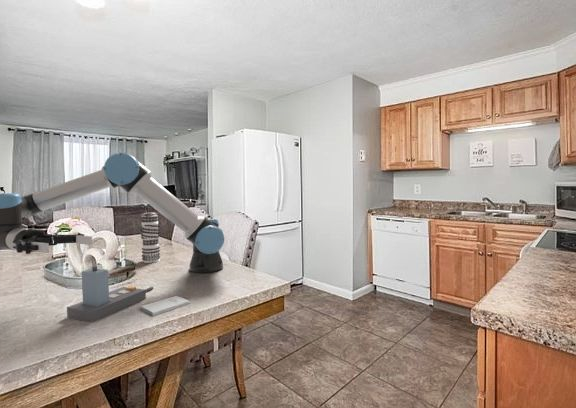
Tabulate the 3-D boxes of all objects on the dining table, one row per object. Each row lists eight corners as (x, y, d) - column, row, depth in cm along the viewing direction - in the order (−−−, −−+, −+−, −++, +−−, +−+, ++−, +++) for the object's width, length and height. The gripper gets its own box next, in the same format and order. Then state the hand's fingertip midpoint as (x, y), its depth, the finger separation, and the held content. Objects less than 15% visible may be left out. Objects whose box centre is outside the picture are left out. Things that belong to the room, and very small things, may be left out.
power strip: (142, 287, 119) (142, 277, 119) (163, 290, 116) (163, 280, 115) (67, 317, 92) (66, 304, 92) (91, 322, 89) (91, 309, 89)
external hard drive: (140, 311, 98) (176, 299, 108) (153, 317, 93) (189, 305, 103) (139, 305, 98) (175, 295, 108) (153, 312, 93) (189, 300, 103)
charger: (95, 302, 99) (93, 264, 98) (109, 304, 97) (107, 266, 96) (83, 307, 95) (81, 267, 94) (97, 309, 93) (95, 269, 92)
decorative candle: (164, 259, 164) (163, 212, 162) (150, 263, 156) (148, 213, 154) (152, 258, 168) (150, 211, 166) (137, 262, 159) (135, 213, 158)
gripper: (64, 244, 117) (106, 248, 110) (-20, 259, 94) (26, 265, 87) (63, 224, 117) (105, 227, 109) (-22, 234, 93) (24, 238, 86)
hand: (70, 244), depth 98 cm, fingers open, 13 cm apart
